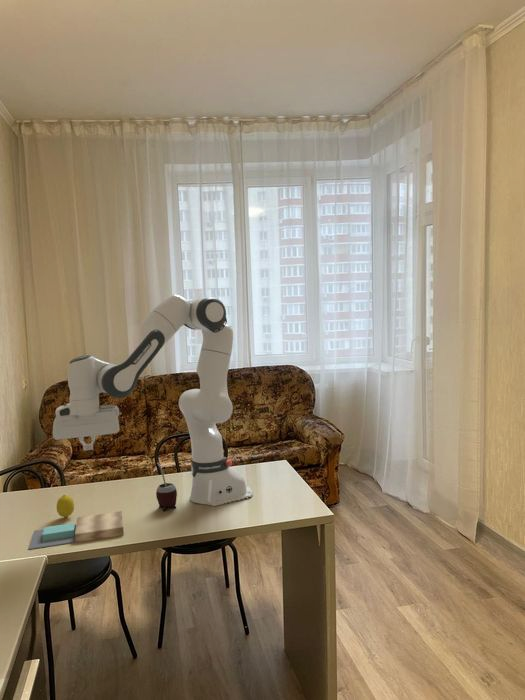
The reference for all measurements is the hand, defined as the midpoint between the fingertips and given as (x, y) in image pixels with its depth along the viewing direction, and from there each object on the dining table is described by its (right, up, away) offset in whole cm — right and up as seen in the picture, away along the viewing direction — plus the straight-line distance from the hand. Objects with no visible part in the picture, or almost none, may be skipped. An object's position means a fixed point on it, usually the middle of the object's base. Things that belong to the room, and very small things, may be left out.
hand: (88, 449), depth 172 cm
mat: (-9, -26, -6) cm, 28 cm away
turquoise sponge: (-7, -25, -5) cm, 27 cm away
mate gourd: (+22, -23, +14) cm, 35 cm away
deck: (+4, -25, -2) cm, 25 cm away
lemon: (-10, -25, +9) cm, 28 cm away
